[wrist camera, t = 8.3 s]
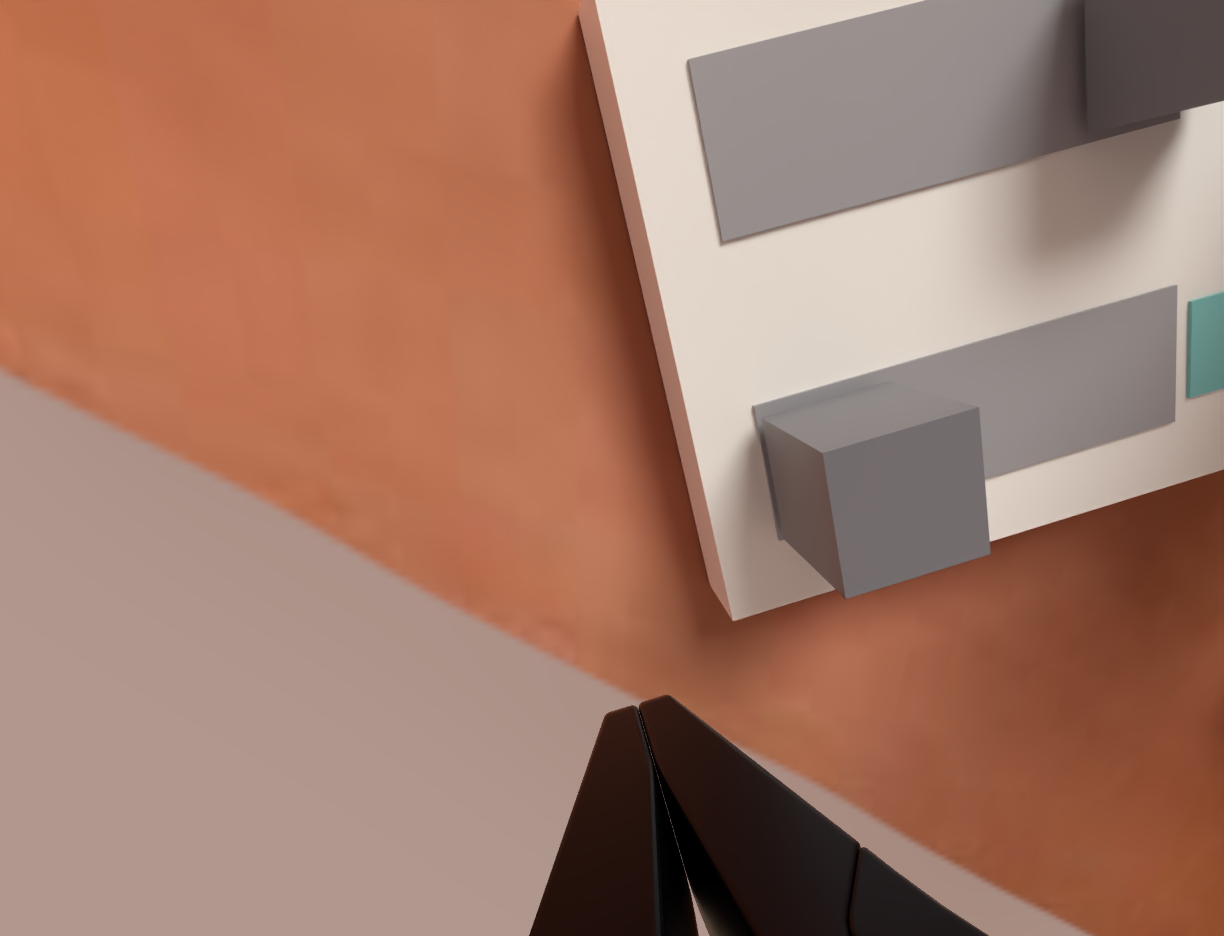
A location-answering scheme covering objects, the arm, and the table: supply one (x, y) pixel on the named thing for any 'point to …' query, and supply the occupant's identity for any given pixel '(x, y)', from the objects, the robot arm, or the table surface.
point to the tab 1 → (880, 485)
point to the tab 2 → (1151, 58)
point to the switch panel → (910, 250)
